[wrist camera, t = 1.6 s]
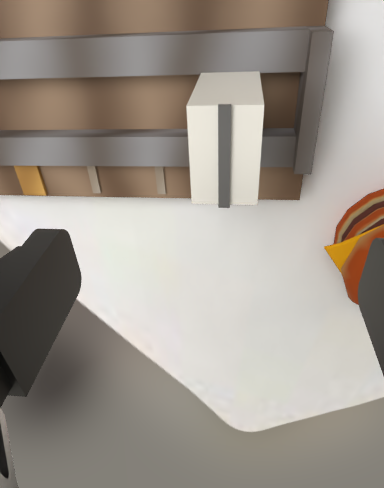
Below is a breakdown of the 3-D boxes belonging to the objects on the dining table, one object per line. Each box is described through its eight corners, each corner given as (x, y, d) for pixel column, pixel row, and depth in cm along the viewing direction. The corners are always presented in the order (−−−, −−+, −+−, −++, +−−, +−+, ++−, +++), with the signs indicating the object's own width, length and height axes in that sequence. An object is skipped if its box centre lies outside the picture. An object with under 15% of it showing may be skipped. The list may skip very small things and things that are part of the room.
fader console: (328, -49, 19) (347, -54, 16) (296, 186, 28) (303, 218, 24) (-106, -21, 23) (-172, -20, 19) (-19, 183, 31) (-53, 210, 27)
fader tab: (257, 59, 21) (264, 104, 14) (253, 135, 24) (257, 208, 16) (205, 60, 21) (185, 105, 14) (207, 135, 24) (191, 206, 17)
